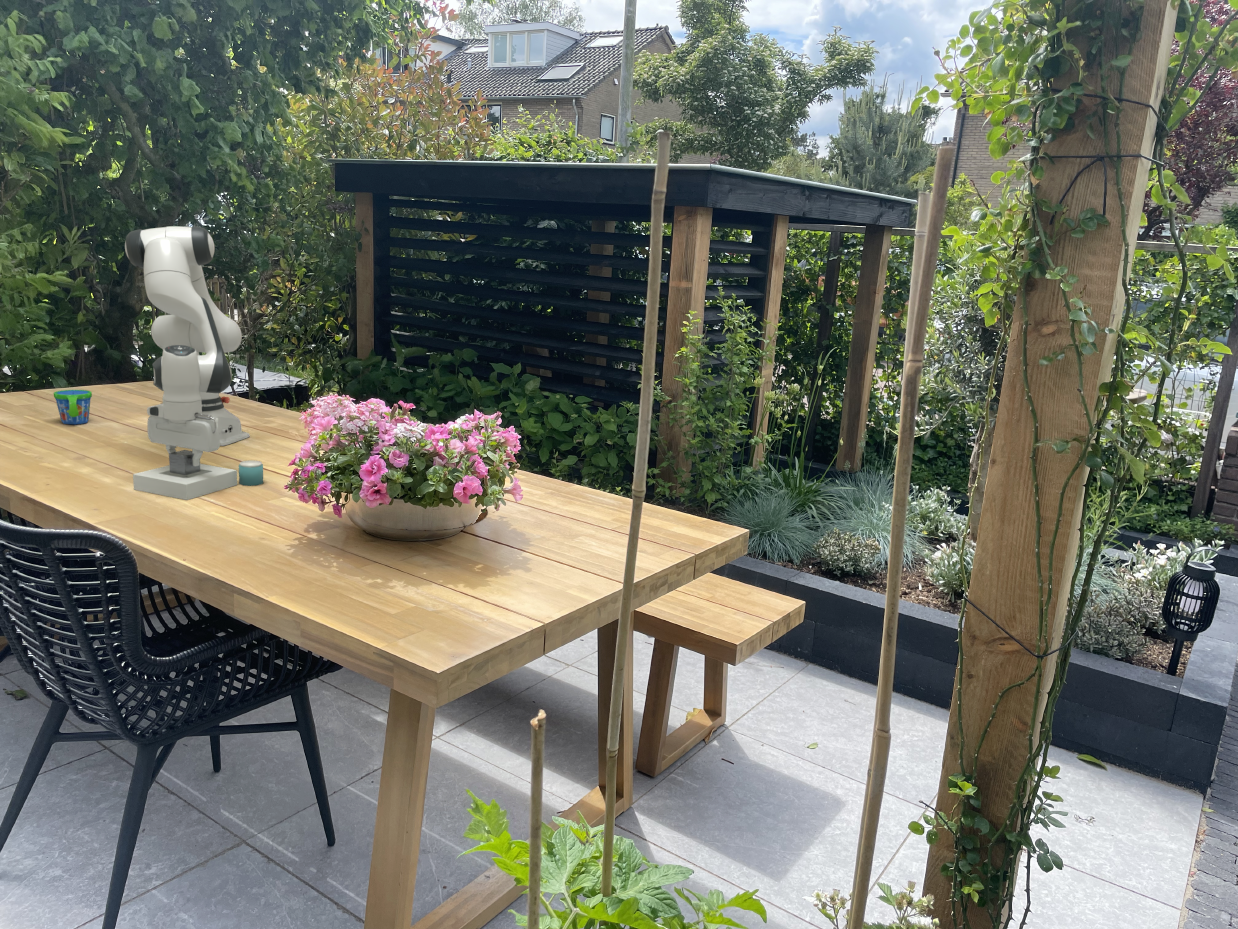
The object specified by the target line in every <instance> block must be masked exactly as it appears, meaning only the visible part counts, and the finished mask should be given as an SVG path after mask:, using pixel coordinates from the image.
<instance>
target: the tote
mask: <svg viewBox="0 0 1238 929" xmlns="http://www.w3.org/2000/svg"><path fill="white" fill-rule="evenodd" d="M132 481H133V482H132V483H133V484H132V485H133V490H135V491H140V492H144V493H148V494H154V495H160V496H164V497H170V498H173V499H180V500H184V501H189V500H193V499H196V498H199V497H201V496H204V495H205V496H206V495H208V494H212V493H215V492H218V491H222V490H225V489H228V488H231V487H235V486H237V485H238V471H237V470H236V469H232V468H226V467H221V466H215V465H210V464H205V463H200V472H196V473H192V474H188V475H181V474H176V473H170V465H169V464H168V465H164V466H161V467H156V468H152V469H149V470H144V471H140V472H136V473H132Z"/></svg>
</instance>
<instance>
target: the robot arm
mask: <svg viewBox="0 0 1238 929" xmlns="http://www.w3.org/2000/svg"><path fill="white" fill-rule="evenodd" d="M124 242H125V243H124V249H125V254H126V256H127V258H128V260H129V262H130V264H132V265H133V266H134V267H136V268H138V269H143V279H144V287H145V292H146V295H147V298H148V300H149V302H150V303H151V304H152V305H153V306H155V307H156V308H157V309H158V310H160V311H162V312H163V313H165V315H158V317H156V319H154V320H153V322H152V325H151V327H150V328H151V329H150V334H151V338H152V339H153V342H154V343H155V344H156V345H157V347H159V348H160V349H162V356H160V357H158V358H157V359H156V360H155V361H154V362H153V363H152V364H151V365H152V367H153V368H152V369H153V384H152V385H153V386H154V387H156V388H158V390H160V391H161V392H163V395H162V403H160V404H156V405H152V406H148V407H147V408H146V413H147V415H148V416H149V417H148V418H147V423H146V424H147V426H146V427H147V437H148V439H149V440H150V442H151V443H155V444H160V445H165V450H166V451H167V453H168V454H169V453H173V452H177V450H176V448H177V447H179V448H183V449H189V450H191V451H192V453H194V456H193V458H192V459H190V465H191V466H199V465H200V464H201V457H202V456H203V454H204V452H205V453H211V452H216V451H218V450H219V448H220V446H222V447H223V446H228V445H230V444H233V443H236V442H239V441H242V440H245V439H248V438H250V437H251V435H250V433H249V432H247V431H243V430H242V422H241V420H240V418H239V417H238V416H236V415H235V414H233V413H232V412H231V411H229V410H228V409H226V408H225V405H224V404H230V402H231V400H230V399H231V398H230V397H229V396H220V394H221V393H223V392H224V391H225V390H227V389H228V388H229V387H230V386H231V385H232V384H231V383H232V379H233V378H232V377H233V376H232V375H233V373H232V368H231V366H230V364H229V362H228V359H227V357H226V353H231V352H235V351H236V350H237V349H238V348H239V347H240V345H241V343H242V337H243V334H242V331H241V328H240V326H239V324H238V323H237V322H236V321H235V320H233V319H231V318H230V317H229V316H228V315H226V314H224V312H222V311H221V310H220V309H219V308H218V307H217V305H216V304H215V303H214V301H213V299H212V297H211V295H210V293H209V290H208V287H207V283H206V279H205V274H204V271H203V267H202V266H203V265H208V264H210V262H212V261H213V259H214V254H215V243H214V240H213V237H212V236H211V233H210V232H209V231H208V230H207V229H206V228H205V227H203V226H202V227H201V226H197V225H196V226H195V225H192V226H191V227H190V226H175V225H173V226H172V225H171V226H164V227H155V228H146V229H142V228H139V229H135V230H132V231H129V233H128V234H127V235H126V236H125V241H124ZM200 353H205V354H202V355H200Z"/></svg>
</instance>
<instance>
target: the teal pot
mask: <svg viewBox="0 0 1238 929" xmlns="http://www.w3.org/2000/svg"><path fill="white" fill-rule="evenodd" d="M238 484H239V485H240V486H245V487H254V486H255V487H256V486H260V485H263V484H264V464H263V462H262V461H260V460H252V459H251V460H250V459H249V460H243V461H240V462H239V463H238Z"/></svg>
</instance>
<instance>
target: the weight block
mask: <svg viewBox="0 0 1238 929" xmlns="http://www.w3.org/2000/svg"><path fill="white" fill-rule="evenodd" d="M193 456H194V453H192V450H187V449H183V450H182V449H181V450H178V451H177V450H176V452H173V453H168V462H169V464H168V465H170V473H176V474H181V475H188V474H192V473H196V472H200V465H199V466H191V465H190V459H192V458H193Z"/></svg>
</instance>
